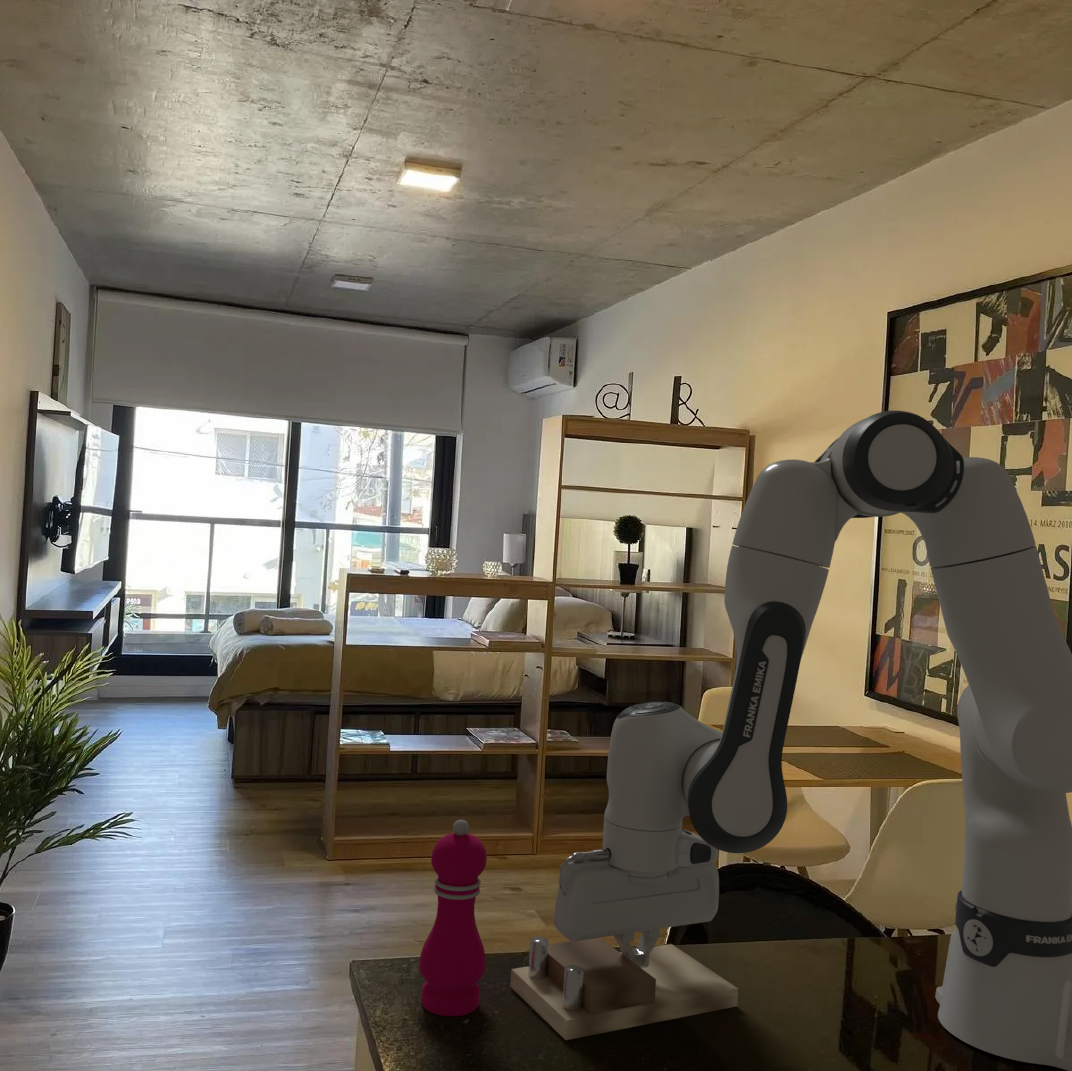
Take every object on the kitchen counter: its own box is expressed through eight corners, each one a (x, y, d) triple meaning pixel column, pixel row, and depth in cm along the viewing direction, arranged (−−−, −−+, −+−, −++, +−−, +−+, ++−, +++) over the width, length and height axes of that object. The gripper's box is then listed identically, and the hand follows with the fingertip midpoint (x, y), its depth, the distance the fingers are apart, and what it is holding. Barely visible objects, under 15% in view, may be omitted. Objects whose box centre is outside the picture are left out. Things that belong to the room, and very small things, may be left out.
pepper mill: (473, 1023, 107) (485, 832, 107) (407, 1013, 108) (419, 824, 108) (490, 994, 114) (501, 815, 114) (428, 984, 115) (439, 807, 115)
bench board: (670, 960, 126) (673, 911, 126) (737, 1006, 115) (740, 952, 115) (510, 986, 116) (513, 933, 116) (565, 1040, 104) (569, 981, 104)
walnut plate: (597, 958, 120) (598, 937, 120) (654, 1002, 110) (656, 979, 110) (537, 967, 117) (538, 945, 117) (590, 1014, 106) (591, 990, 106)
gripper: (575, 862, 108) (567, 993, 108) (730, 846, 118) (723, 965, 118) (547, 845, 114) (540, 968, 114) (697, 830, 123) (690, 944, 123)
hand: (634, 967), depth 116 cm, fingers closed
